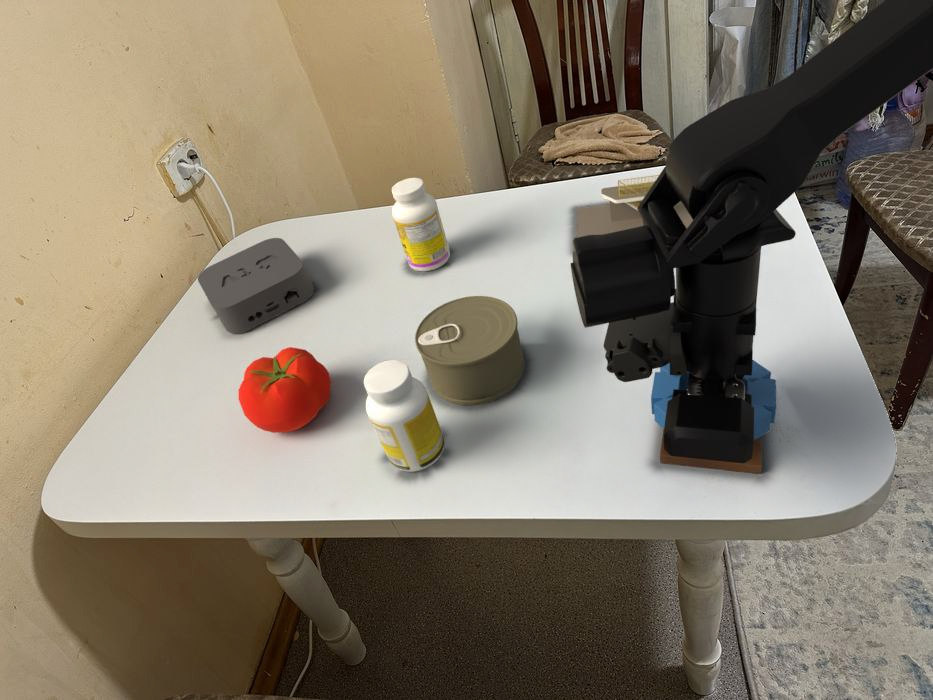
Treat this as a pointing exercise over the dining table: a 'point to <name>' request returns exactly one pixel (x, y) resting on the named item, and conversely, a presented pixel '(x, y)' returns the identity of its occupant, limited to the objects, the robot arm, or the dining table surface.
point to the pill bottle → (403, 416)
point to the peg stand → (749, 466)
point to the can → (471, 349)
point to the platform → (620, 210)
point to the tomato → (284, 390)
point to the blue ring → (754, 385)
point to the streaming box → (256, 284)
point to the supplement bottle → (419, 225)
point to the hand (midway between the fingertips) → (710, 430)
